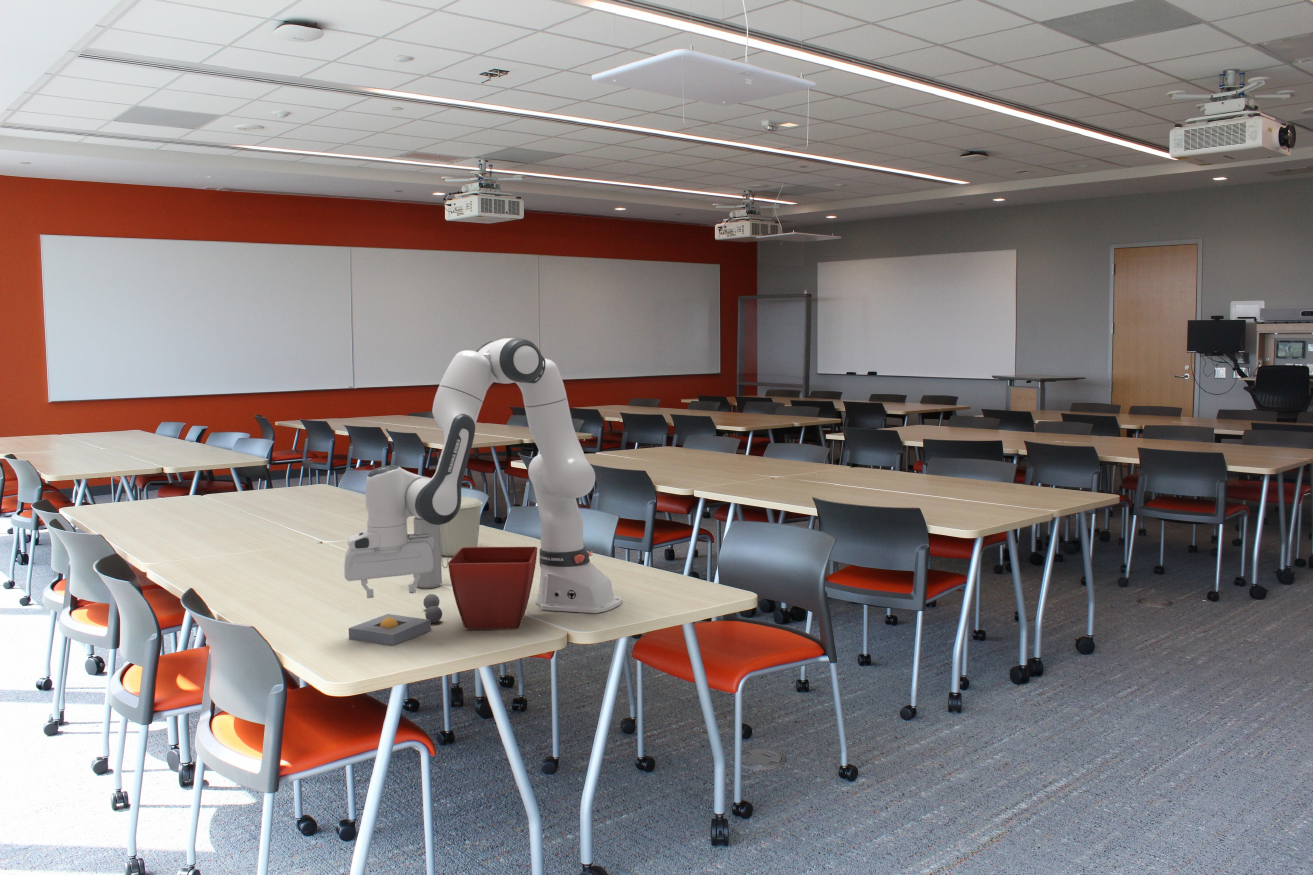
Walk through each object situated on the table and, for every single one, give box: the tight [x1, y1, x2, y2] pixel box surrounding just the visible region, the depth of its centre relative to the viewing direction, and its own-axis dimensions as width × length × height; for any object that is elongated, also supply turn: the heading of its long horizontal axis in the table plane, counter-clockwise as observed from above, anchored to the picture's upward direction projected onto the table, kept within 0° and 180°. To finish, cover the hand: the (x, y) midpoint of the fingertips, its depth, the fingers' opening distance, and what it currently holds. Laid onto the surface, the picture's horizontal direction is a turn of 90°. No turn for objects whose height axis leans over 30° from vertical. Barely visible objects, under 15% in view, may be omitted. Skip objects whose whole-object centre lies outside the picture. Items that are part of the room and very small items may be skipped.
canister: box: [440, 496, 484, 557], centre depth 307 cm, size 18×18×21 cm
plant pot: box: [447, 546, 538, 630], centre depth 227 cm, size 19×19×17 cm
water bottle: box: [413, 516, 449, 590], centre depth 264 cm, size 9×8×25 cm
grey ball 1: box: [423, 593, 441, 610], centre depth 240 cm, size 4×4×4 cm
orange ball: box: [380, 617, 398, 628], centre depth 219 cm, size 4×4×4 cm
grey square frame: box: [348, 613, 432, 646], centre depth 219 cm, size 13×13×2 cm
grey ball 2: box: [424, 606, 443, 624], centre depth 228 cm, size 4×4×4 cm
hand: (391, 594), depth 218 cm, fingers open, 8 cm apart
